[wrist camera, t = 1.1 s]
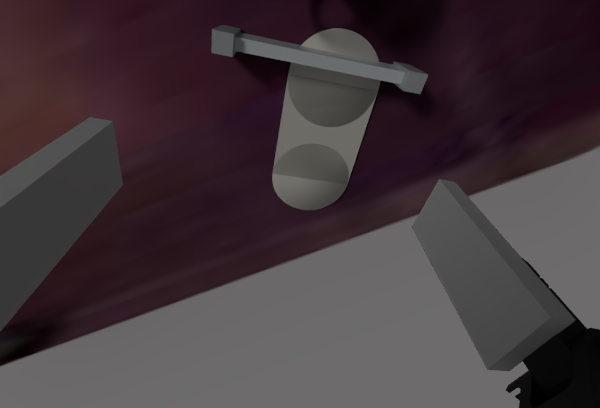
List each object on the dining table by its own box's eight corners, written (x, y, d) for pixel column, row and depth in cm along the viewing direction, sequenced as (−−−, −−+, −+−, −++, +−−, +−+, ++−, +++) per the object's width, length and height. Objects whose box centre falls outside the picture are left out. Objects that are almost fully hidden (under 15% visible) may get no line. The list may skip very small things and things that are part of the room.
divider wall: (222, 24, 26) (212, 29, 22) (409, 64, 28) (428, 74, 25) (221, 45, 27) (211, 52, 23) (403, 82, 29) (420, 94, 25)
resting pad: (297, 18, 26) (297, 18, 25) (393, 39, 27) (394, 40, 27) (267, 203, 37) (267, 205, 37) (337, 212, 38) (337, 214, 38)
